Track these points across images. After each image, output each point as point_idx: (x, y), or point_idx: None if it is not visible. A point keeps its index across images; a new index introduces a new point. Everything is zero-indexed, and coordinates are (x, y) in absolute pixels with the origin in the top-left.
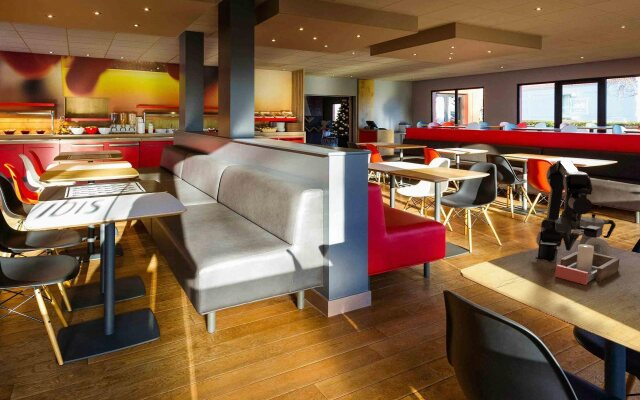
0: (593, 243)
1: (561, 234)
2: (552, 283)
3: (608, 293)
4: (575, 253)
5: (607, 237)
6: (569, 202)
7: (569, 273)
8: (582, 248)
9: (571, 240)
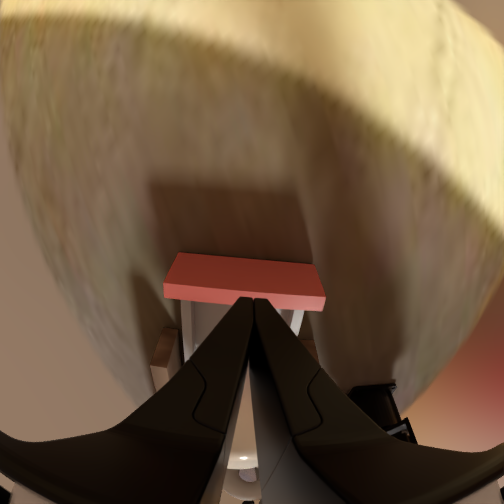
0: (259, 483)
1: (415, 452)
2: (300, 168)
3: (91, 226)
4: None
5: (245, 501)
6: None
7: (252, 276)
8: (240, 443)
9: (186, 393)
